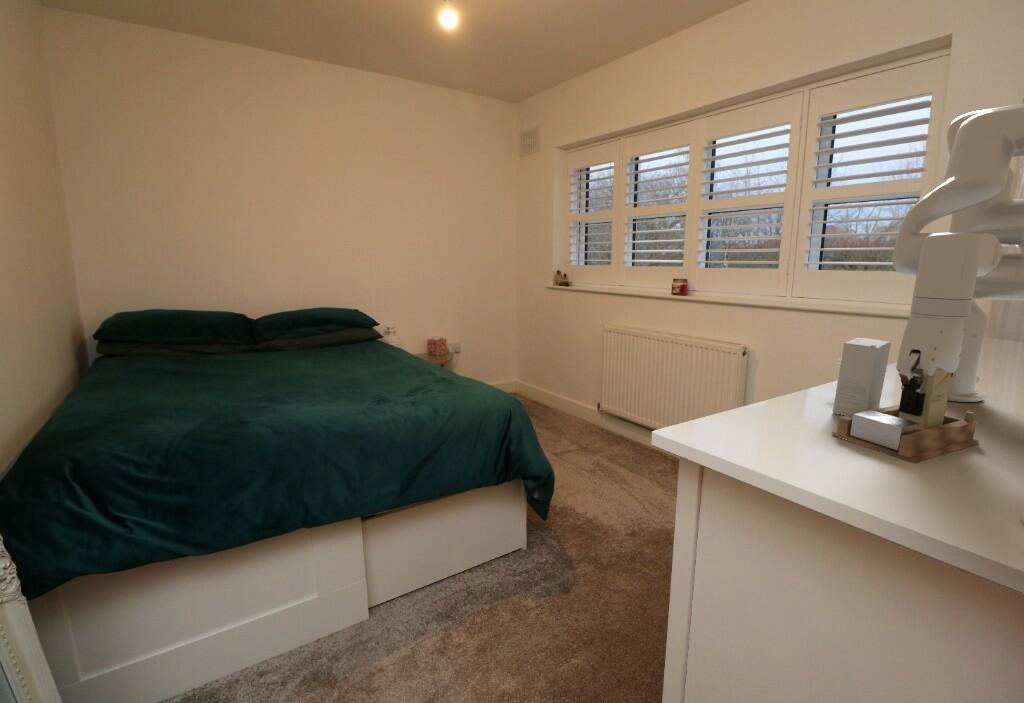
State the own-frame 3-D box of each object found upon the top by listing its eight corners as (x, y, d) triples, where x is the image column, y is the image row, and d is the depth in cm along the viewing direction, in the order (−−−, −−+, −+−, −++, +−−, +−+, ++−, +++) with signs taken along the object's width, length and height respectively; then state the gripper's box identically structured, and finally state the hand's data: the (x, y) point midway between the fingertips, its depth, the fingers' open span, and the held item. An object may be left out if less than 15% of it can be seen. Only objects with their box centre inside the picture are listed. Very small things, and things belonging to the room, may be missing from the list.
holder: (895, 420, 93) (899, 395, 92) (978, 443, 82) (984, 414, 81) (832, 435, 86) (835, 407, 84) (914, 462, 74) (920, 431, 73)
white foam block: (867, 430, 85) (871, 410, 84) (915, 445, 79) (919, 423, 78) (850, 435, 83) (853, 413, 82) (897, 450, 77) (901, 427, 76)
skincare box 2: (924, 437, 82) (937, 367, 79) (894, 429, 86) (905, 362, 83) (942, 431, 85) (955, 363, 82) (912, 423, 89) (924, 358, 86)
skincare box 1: (845, 406, 102) (856, 336, 99) (880, 413, 98) (892, 340, 95) (831, 414, 97) (841, 341, 94) (867, 422, 92) (879, 345, 89)
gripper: (941, 304, 88) (923, 399, 91) (884, 308, 81) (868, 411, 84) (995, 308, 81) (974, 410, 85) (938, 313, 74) (918, 425, 78)
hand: (921, 410), depth 85 cm, fingers closed on skincare box 2, 6 cm apart
